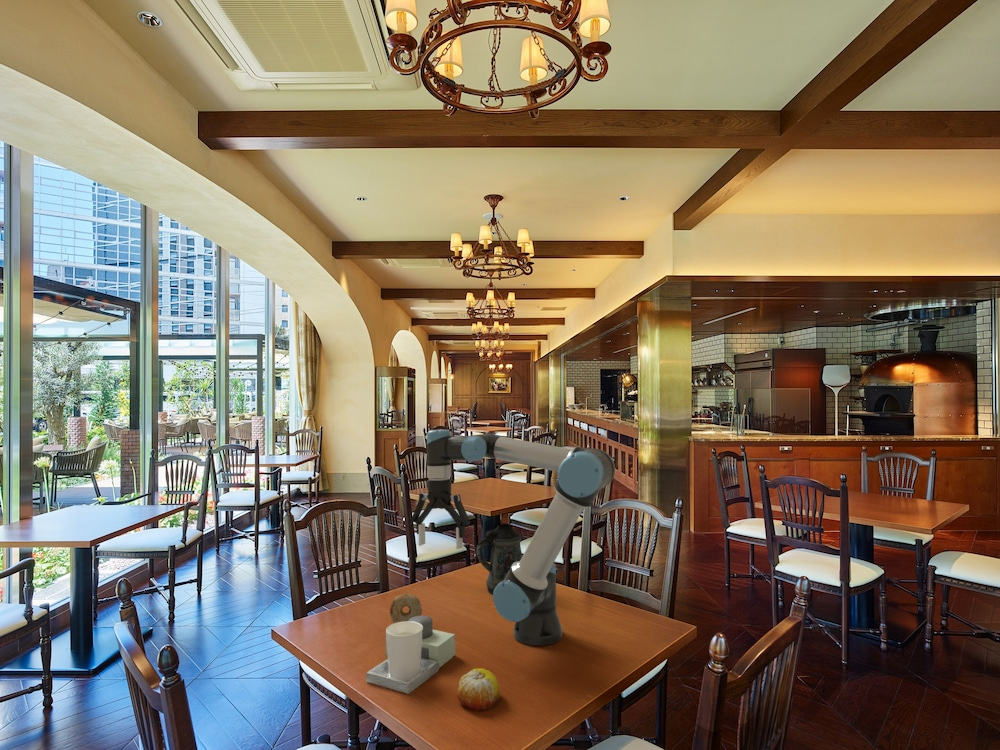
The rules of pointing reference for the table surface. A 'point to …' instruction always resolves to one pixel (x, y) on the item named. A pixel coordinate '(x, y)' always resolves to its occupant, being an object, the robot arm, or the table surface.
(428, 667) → the gray square tray
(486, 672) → the fruit
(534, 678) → the table surface
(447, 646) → the push-button box
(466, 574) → the table surface
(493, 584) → the beer stein
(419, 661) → the candle holder
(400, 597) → the stone disc
